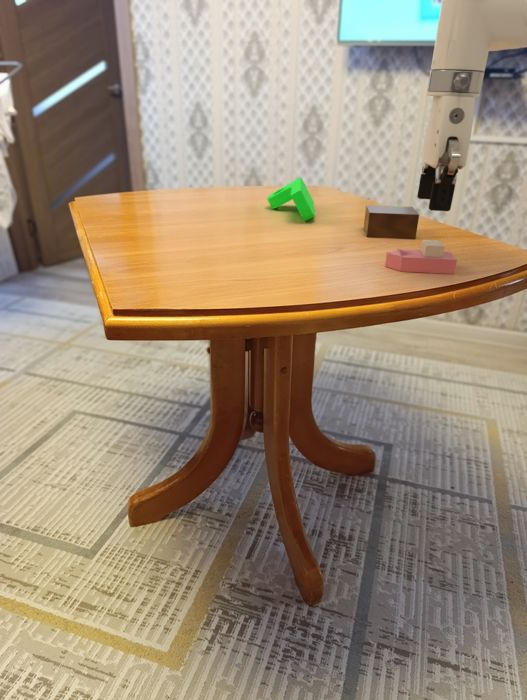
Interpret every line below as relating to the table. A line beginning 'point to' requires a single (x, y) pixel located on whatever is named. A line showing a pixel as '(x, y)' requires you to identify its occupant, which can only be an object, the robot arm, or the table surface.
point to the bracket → (294, 198)
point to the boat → (423, 259)
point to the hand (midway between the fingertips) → (432, 204)
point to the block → (391, 222)
